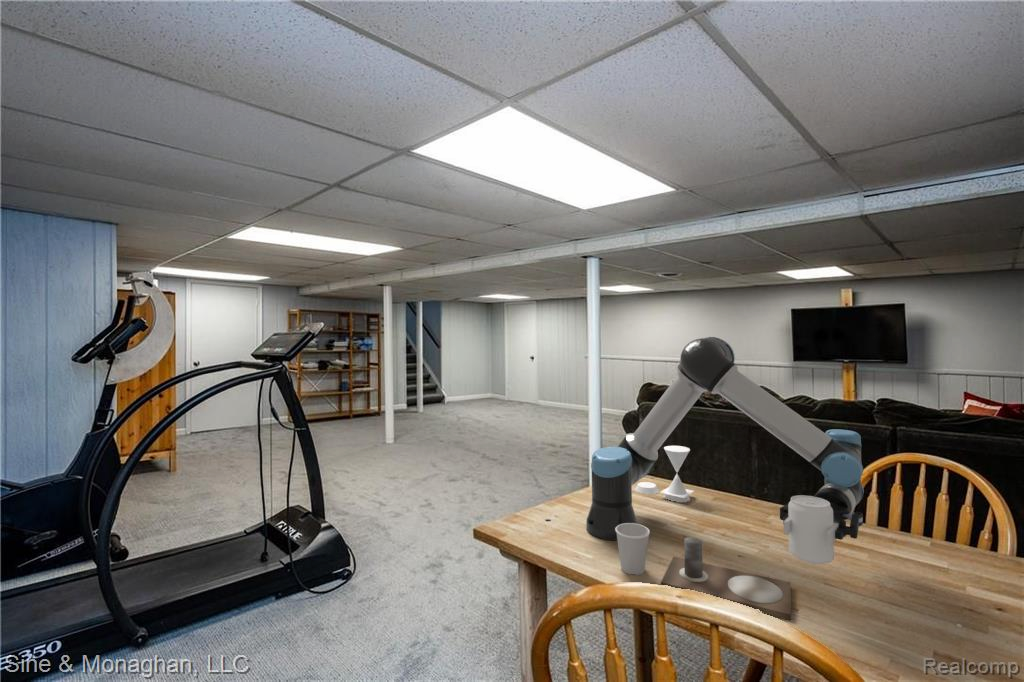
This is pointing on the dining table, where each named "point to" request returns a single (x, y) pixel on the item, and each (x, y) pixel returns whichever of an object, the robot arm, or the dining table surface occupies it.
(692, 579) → the board
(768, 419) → the robot arm
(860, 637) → the dining table surface
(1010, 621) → the dining table surface
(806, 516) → the beverage can
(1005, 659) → the dining table surface
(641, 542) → the dixie cup
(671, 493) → the white plastic pieces
